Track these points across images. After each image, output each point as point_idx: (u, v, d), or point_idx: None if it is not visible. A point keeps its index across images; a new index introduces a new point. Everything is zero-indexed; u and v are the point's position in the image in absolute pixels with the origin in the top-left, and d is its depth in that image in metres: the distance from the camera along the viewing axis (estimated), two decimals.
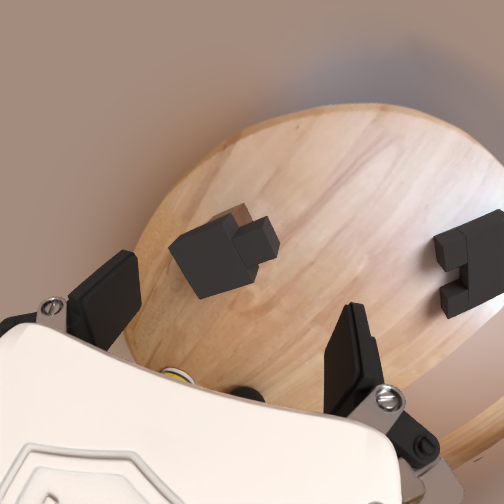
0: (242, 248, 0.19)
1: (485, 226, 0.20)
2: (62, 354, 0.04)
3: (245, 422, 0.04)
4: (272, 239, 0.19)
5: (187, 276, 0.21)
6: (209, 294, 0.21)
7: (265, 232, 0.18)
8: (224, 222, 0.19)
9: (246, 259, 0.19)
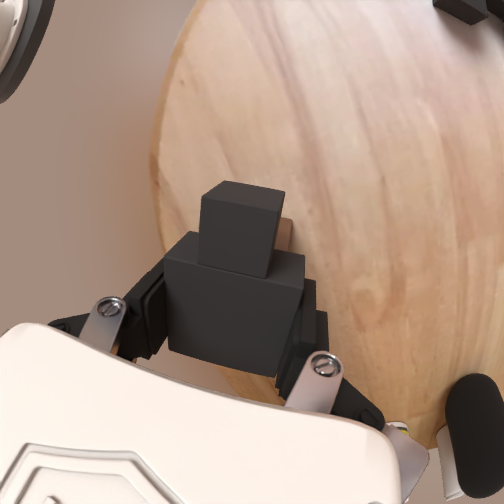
0: (222, 258, 0.09)
1: None
2: (62, 354, 0.04)
3: (244, 423, 0.04)
4: (250, 195, 0.09)
5: (225, 364, 0.11)
6: (275, 362, 0.11)
7: (216, 196, 0.08)
8: (168, 252, 0.10)
9: (248, 267, 0.09)
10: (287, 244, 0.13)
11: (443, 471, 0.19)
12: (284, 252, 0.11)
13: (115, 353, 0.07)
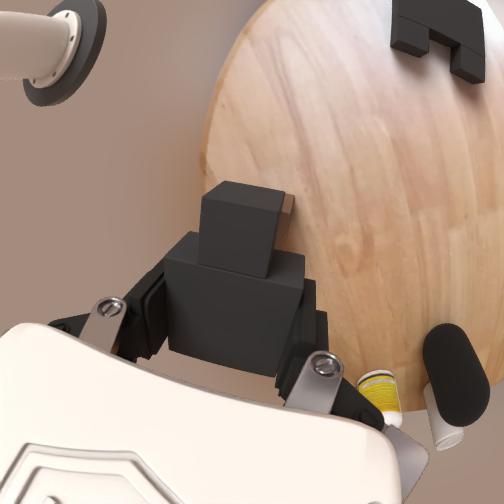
0: (223, 258, 0.09)
1: None
2: (62, 354, 0.04)
3: (245, 422, 0.04)
4: (250, 196, 0.09)
5: (225, 363, 0.11)
6: (275, 362, 0.11)
7: (216, 196, 0.08)
8: (168, 253, 0.10)
9: (248, 267, 0.09)
10: (291, 205, 0.23)
11: (431, 421, 0.27)
12: (284, 252, 0.11)
13: (115, 353, 0.07)
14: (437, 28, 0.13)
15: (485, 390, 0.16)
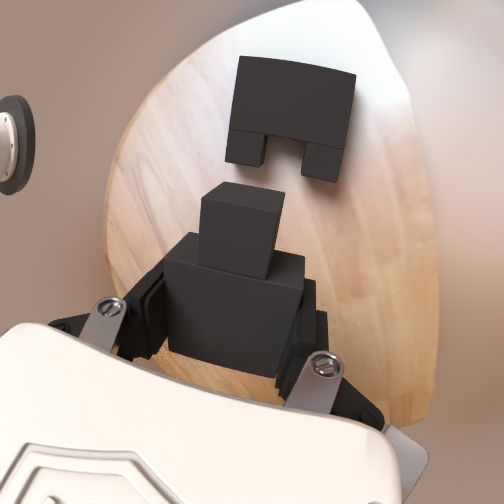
0: (222, 259, 0.09)
1: (233, 97, 0.21)
2: (62, 354, 0.04)
3: (244, 422, 0.04)
4: (250, 197, 0.09)
5: (225, 364, 0.11)
6: (275, 363, 0.11)
7: (216, 198, 0.08)
8: (168, 254, 0.10)
9: (248, 268, 0.09)
10: None
11: None
12: (284, 253, 0.11)
13: (115, 353, 0.07)
14: (275, 131, 0.21)
15: None
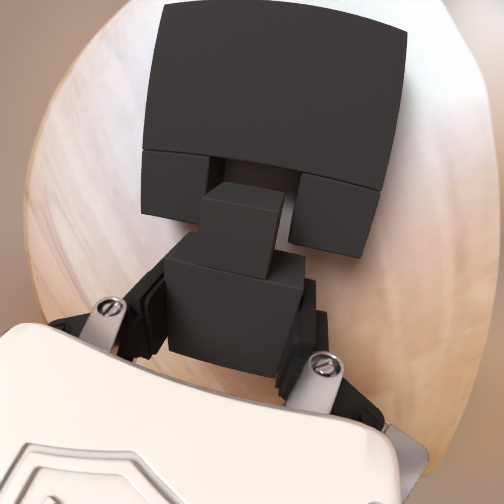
0: (223, 259, 0.09)
1: (150, 84, 0.09)
2: (62, 354, 0.04)
3: (244, 423, 0.04)
4: (251, 196, 0.09)
5: (225, 364, 0.11)
6: (275, 362, 0.11)
7: (216, 197, 0.08)
8: (168, 253, 0.10)
9: (248, 268, 0.09)
10: None
11: None
12: (284, 253, 0.11)
13: (115, 353, 0.07)
14: (232, 149, 0.10)
15: None
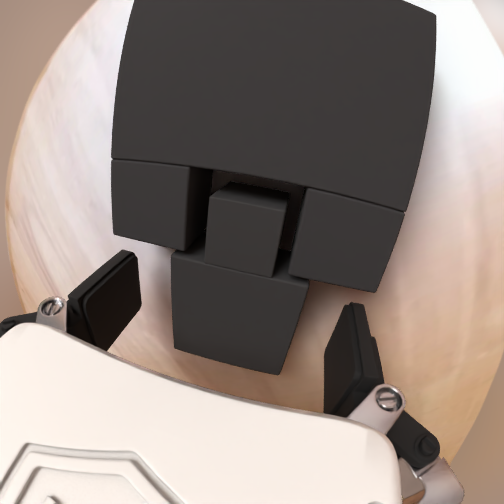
0: (229, 257, 0.09)
1: (119, 78, 0.07)
2: (62, 354, 0.04)
3: (244, 422, 0.04)
4: (257, 196, 0.09)
5: (230, 361, 0.11)
6: (280, 359, 0.11)
7: (224, 197, 0.08)
8: (175, 252, 0.10)
9: (254, 265, 0.09)
10: None
11: None
12: (289, 252, 0.11)
13: None
14: (217, 157, 0.08)
15: None
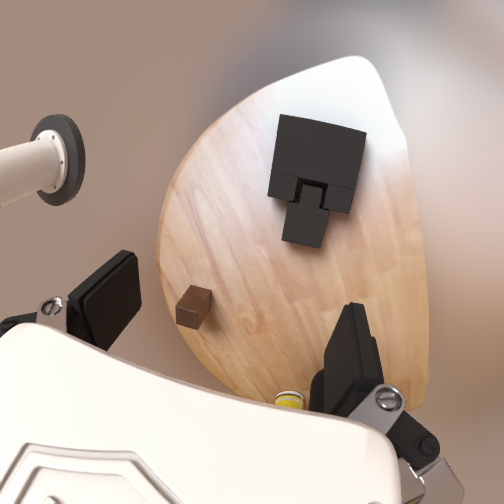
0: (307, 202, 0.32)
1: None
2: (62, 354, 0.04)
3: (245, 422, 0.04)
4: (314, 186, 0.32)
5: (303, 243, 0.34)
6: (320, 240, 0.33)
7: (306, 186, 0.31)
8: (289, 202, 0.32)
9: (314, 205, 0.32)
10: (202, 303, 0.40)
11: None
12: (321, 204, 0.34)
13: None
14: (306, 175, 0.30)
15: None
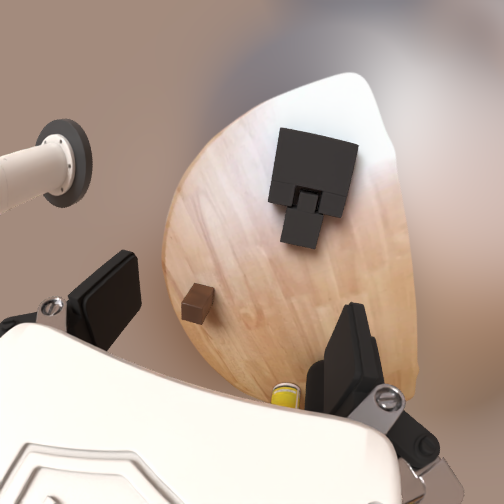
0: (303, 208, 0.35)
1: (275, 157, 0.33)
2: (62, 354, 0.04)
3: (245, 423, 0.04)
4: (310, 193, 0.35)
5: (299, 244, 0.38)
6: (315, 241, 0.37)
7: (303, 193, 0.35)
8: (287, 207, 0.36)
9: (310, 210, 0.35)
10: (206, 300, 0.43)
11: None
12: (316, 209, 0.37)
13: None
14: (303, 183, 0.34)
15: None
